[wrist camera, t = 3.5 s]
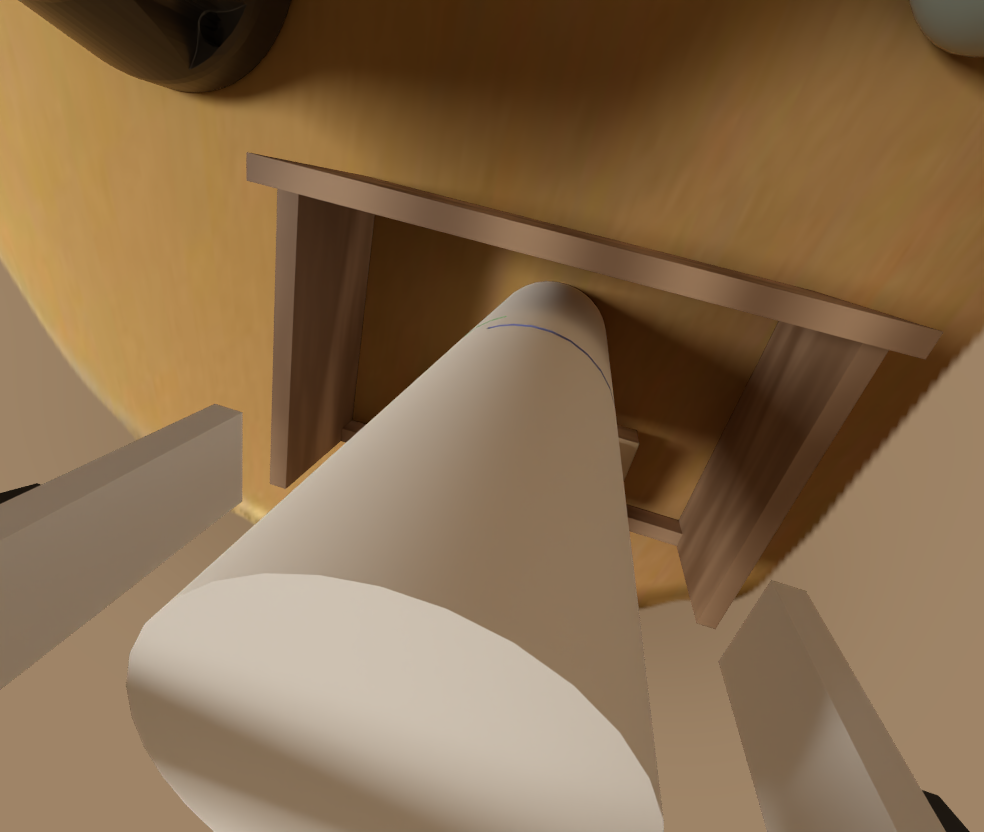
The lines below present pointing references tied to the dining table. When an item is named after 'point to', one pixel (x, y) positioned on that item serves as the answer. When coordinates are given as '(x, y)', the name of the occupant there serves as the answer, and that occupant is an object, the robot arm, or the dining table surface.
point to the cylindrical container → (427, 615)
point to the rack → (783, 365)
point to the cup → (952, 24)
